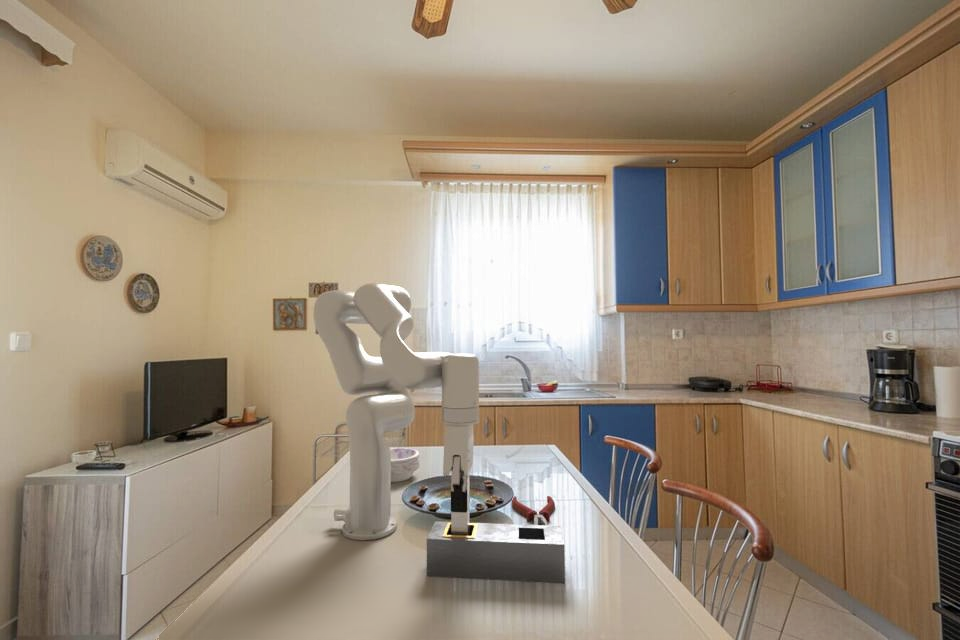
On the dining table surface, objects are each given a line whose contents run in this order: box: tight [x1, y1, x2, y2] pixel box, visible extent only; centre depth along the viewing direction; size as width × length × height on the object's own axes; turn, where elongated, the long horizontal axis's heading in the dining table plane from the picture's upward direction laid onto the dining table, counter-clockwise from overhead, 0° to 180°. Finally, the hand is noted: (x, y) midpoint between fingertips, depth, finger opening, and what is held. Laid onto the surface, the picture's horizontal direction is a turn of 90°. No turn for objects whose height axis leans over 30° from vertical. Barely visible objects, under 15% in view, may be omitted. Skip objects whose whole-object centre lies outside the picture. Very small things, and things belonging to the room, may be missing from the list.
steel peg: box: [450, 472, 470, 536], centre depth 86 cm, size 3×3×13 cm
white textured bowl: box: [390, 447, 421, 483], centre depth 141 cm, size 15×15×8 cm
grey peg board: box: [426, 520, 566, 584], centre depth 85 cm, size 26×8×7 cm, turn 84°
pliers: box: [511, 495, 556, 526], centre depth 110 cm, size 12×20×3 cm, turn 1°
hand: (460, 506), depth 86 cm, fingers closed on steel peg, 3 cm apart
